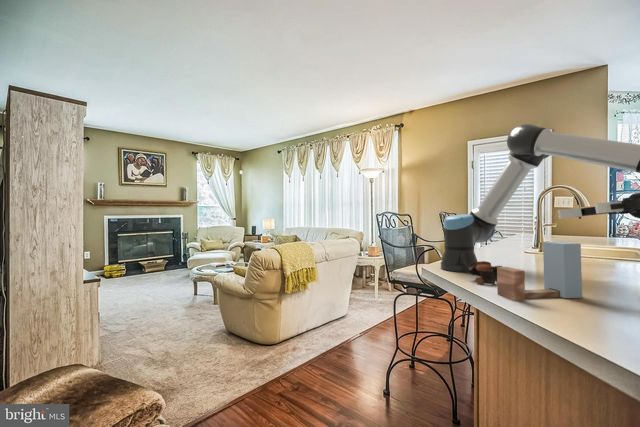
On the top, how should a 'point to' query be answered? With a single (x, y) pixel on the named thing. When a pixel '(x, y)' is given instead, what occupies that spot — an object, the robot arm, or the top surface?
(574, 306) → the top surface
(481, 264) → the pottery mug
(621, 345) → the top surface
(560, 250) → the blue-grey tall block
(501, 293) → the wooden mallet
